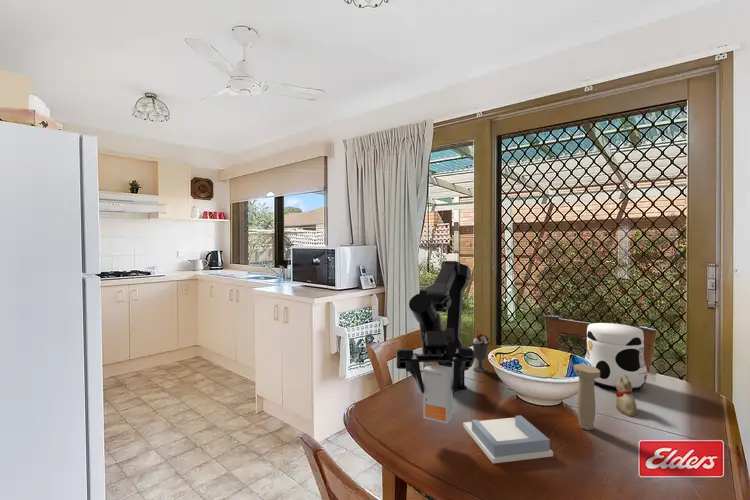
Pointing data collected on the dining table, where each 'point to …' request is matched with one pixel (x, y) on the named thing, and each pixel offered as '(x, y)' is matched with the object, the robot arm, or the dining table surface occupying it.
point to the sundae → (480, 350)
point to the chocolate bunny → (625, 397)
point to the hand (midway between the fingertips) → (438, 392)
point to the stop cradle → (509, 439)
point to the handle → (586, 394)
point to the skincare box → (437, 393)
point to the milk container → (616, 353)
